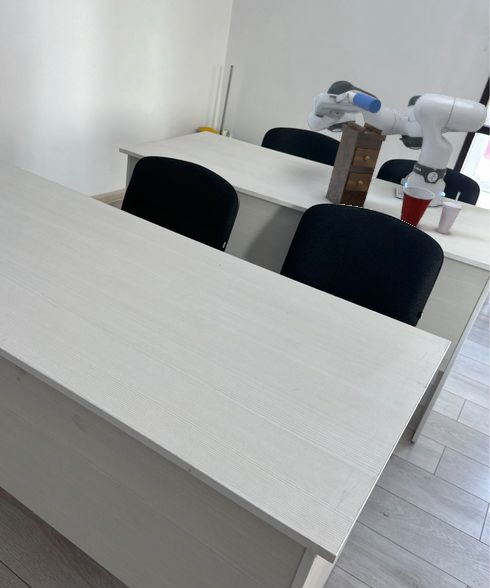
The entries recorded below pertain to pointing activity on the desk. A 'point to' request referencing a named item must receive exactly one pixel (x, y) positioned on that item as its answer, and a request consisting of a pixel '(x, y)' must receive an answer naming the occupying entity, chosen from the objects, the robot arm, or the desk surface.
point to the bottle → (365, 102)
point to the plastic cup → (415, 204)
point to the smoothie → (448, 215)
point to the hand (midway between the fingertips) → (352, 95)
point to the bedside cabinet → (355, 164)
